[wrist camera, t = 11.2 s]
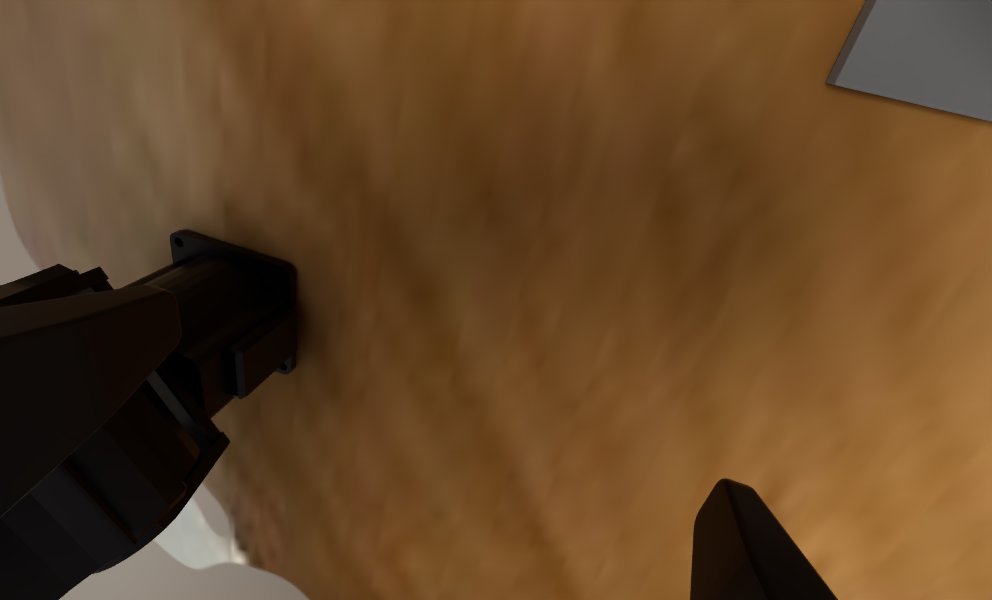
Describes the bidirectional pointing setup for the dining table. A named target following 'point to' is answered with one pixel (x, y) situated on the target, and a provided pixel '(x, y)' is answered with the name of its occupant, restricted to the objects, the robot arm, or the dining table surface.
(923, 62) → the rubber mat
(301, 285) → the dining table surface
